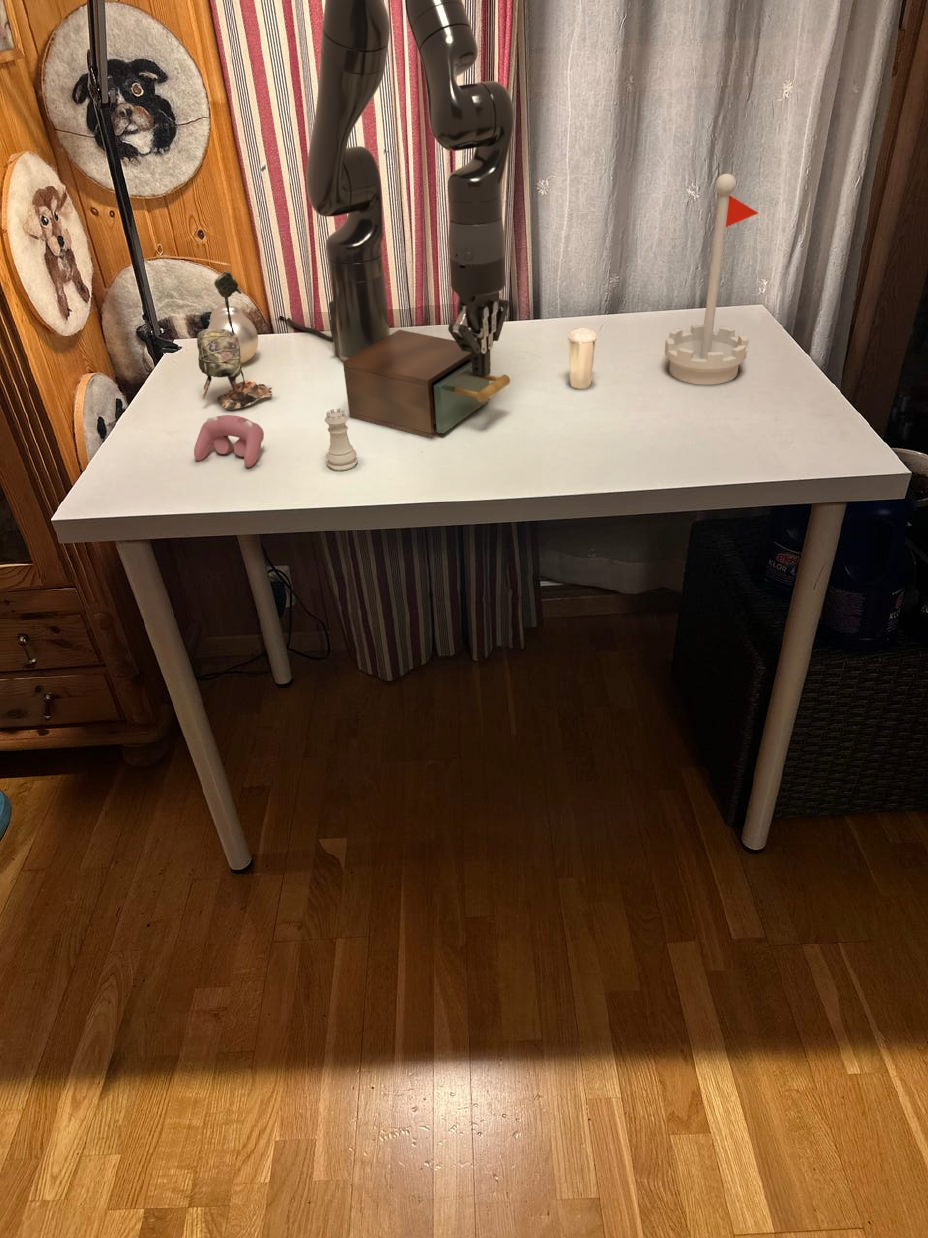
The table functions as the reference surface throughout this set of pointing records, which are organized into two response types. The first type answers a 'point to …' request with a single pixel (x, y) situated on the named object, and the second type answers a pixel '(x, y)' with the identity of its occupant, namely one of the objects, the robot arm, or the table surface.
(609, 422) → the table surface
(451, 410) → the drawer
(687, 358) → the flag stand
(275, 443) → the table surface
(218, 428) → the video game controller
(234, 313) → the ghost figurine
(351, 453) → the rook chess piece
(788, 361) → the table surface
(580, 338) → the milkshake
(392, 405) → the cabinet
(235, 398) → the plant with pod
